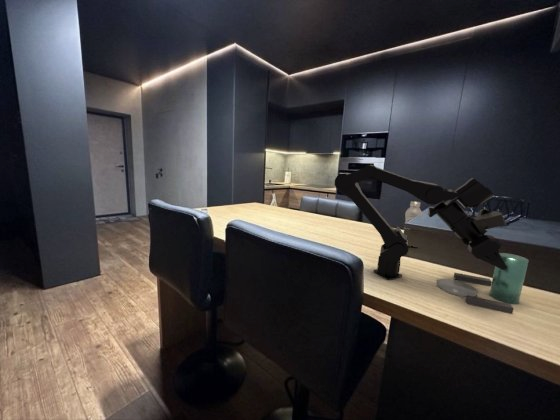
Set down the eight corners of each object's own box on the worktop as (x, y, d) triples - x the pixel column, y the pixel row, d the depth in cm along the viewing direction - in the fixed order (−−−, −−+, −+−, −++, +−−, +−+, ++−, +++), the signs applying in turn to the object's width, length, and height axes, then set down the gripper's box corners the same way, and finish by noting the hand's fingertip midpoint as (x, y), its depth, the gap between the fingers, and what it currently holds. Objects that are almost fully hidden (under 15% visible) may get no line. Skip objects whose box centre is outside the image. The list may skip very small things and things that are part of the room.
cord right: (467, 303, 63) (468, 298, 63) (465, 300, 65) (466, 295, 64) (512, 313, 59) (513, 308, 59) (508, 309, 61) (510, 304, 61)
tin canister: (511, 305, 62) (521, 263, 60) (484, 294, 68) (492, 254, 65) (523, 301, 65) (533, 259, 62) (496, 290, 70) (505, 252, 68)
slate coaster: (463, 300, 64) (463, 298, 64) (428, 283, 73) (428, 281, 73) (485, 293, 68) (486, 291, 68) (449, 277, 77) (450, 276, 77)
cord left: (455, 279, 76) (455, 275, 76) (453, 276, 78) (454, 272, 78) (490, 286, 72) (491, 281, 72) (488, 283, 74) (489, 278, 74)
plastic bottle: (420, 248, 103) (427, 203, 99) (403, 247, 104) (409, 202, 100) (415, 244, 109) (421, 201, 105) (399, 242, 111) (405, 200, 107)
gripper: (498, 206, 56) (551, 258, 53) (475, 196, 73) (515, 236, 70) (452, 233, 61) (499, 283, 58) (440, 218, 77) (477, 256, 75)
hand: (498, 262), depth 65 cm, fingers open, 9 cm apart
